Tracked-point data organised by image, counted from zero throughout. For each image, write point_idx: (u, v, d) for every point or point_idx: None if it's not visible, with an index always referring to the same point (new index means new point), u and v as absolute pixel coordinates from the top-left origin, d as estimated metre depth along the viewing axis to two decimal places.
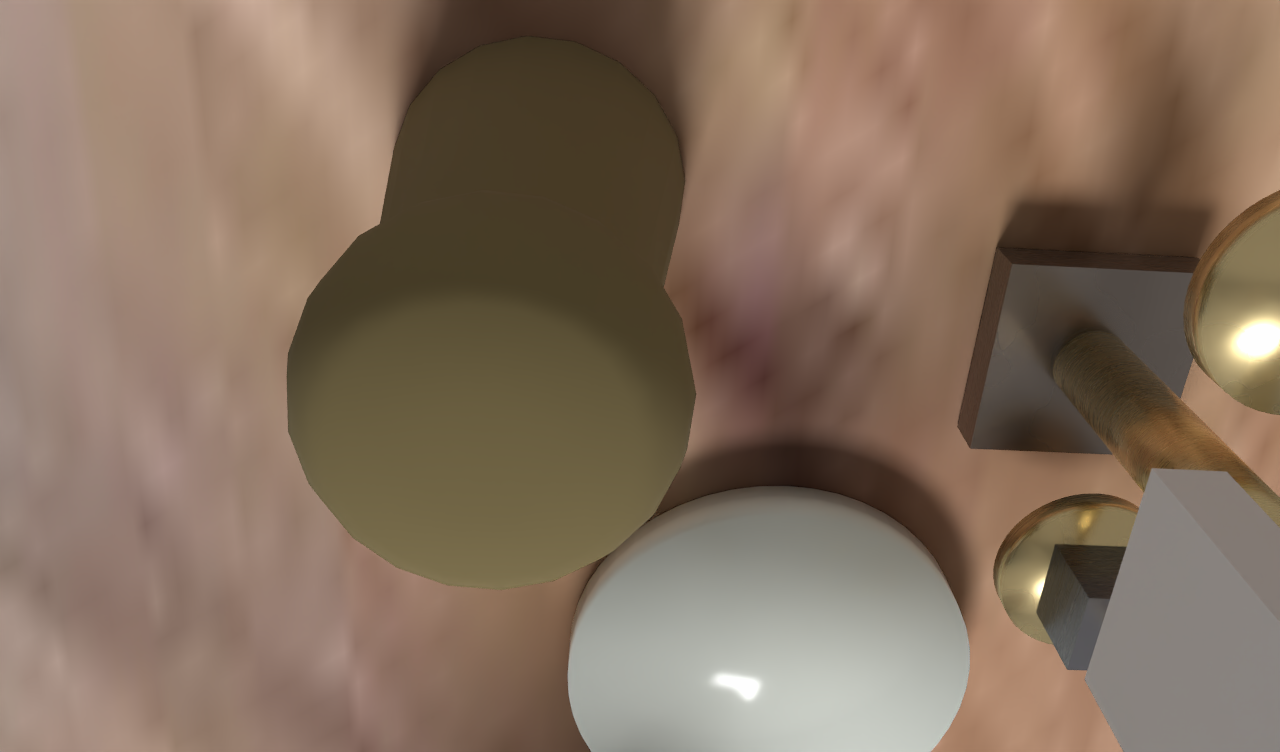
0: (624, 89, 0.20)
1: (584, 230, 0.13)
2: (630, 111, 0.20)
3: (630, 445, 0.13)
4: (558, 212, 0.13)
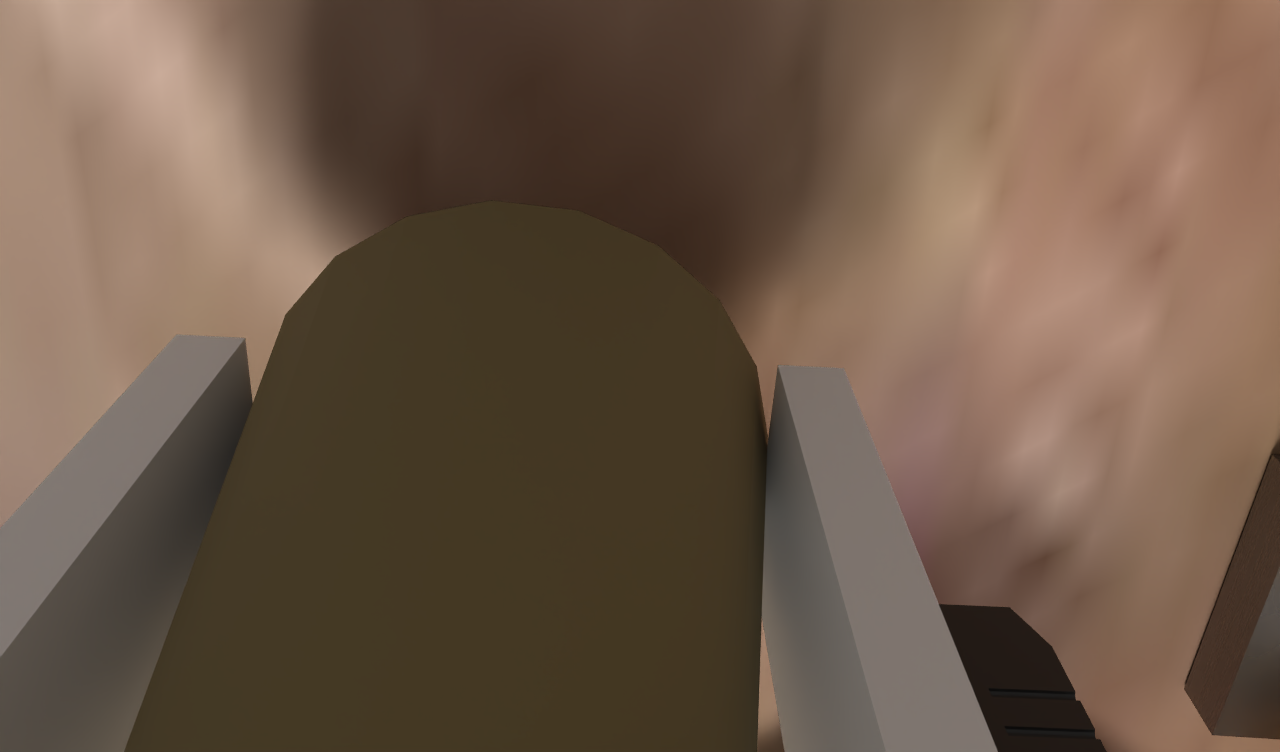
0: (667, 311, 0.11)
1: None
2: (681, 366, 0.10)
3: None
4: None
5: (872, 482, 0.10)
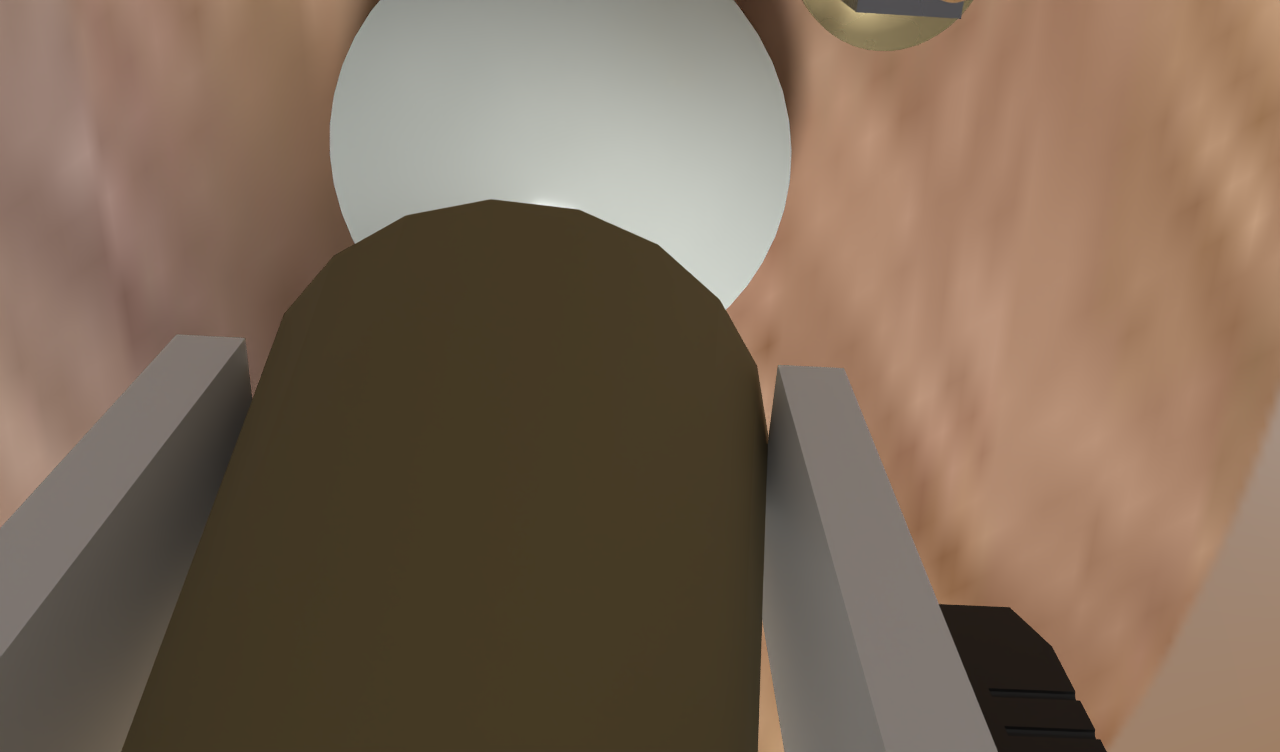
0: (667, 310, 0.11)
1: None
2: (681, 366, 0.10)
3: None
4: None
5: (872, 482, 0.10)
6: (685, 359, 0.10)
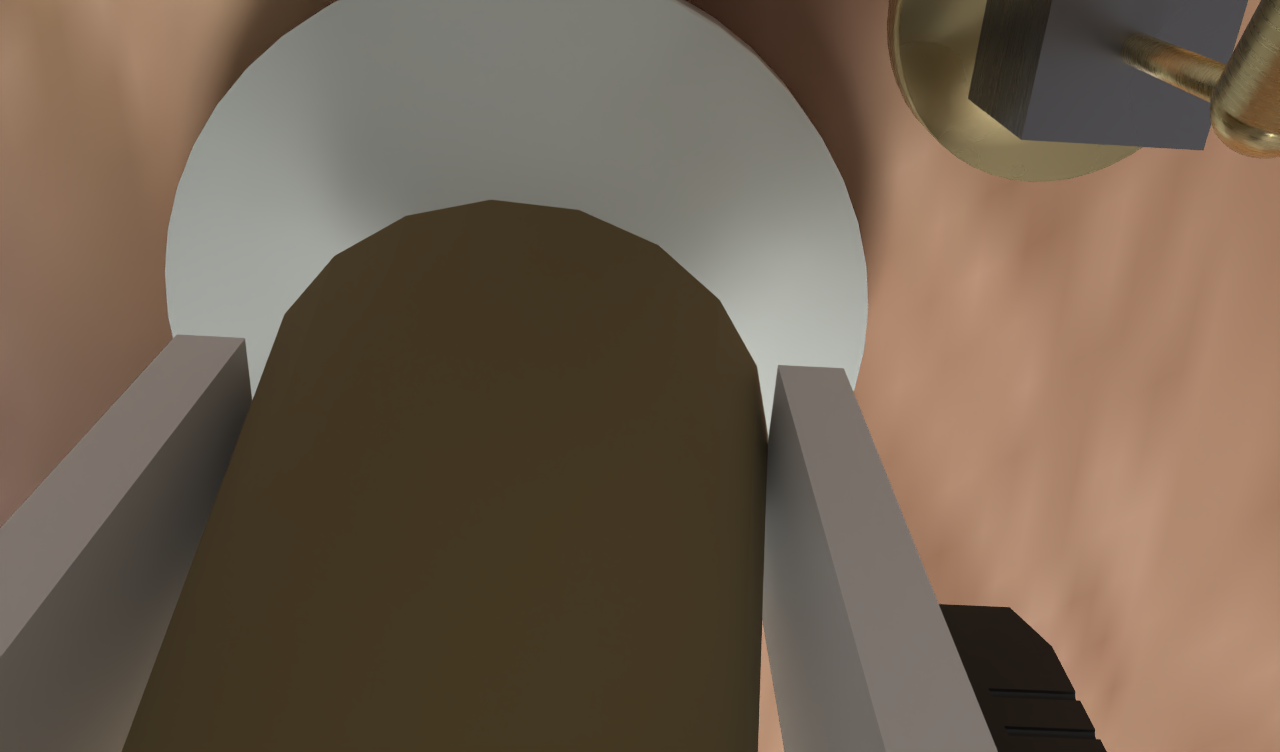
0: (667, 310, 0.11)
1: None
2: (681, 366, 0.10)
3: None
4: None
5: (872, 482, 0.10)
6: (685, 359, 0.10)
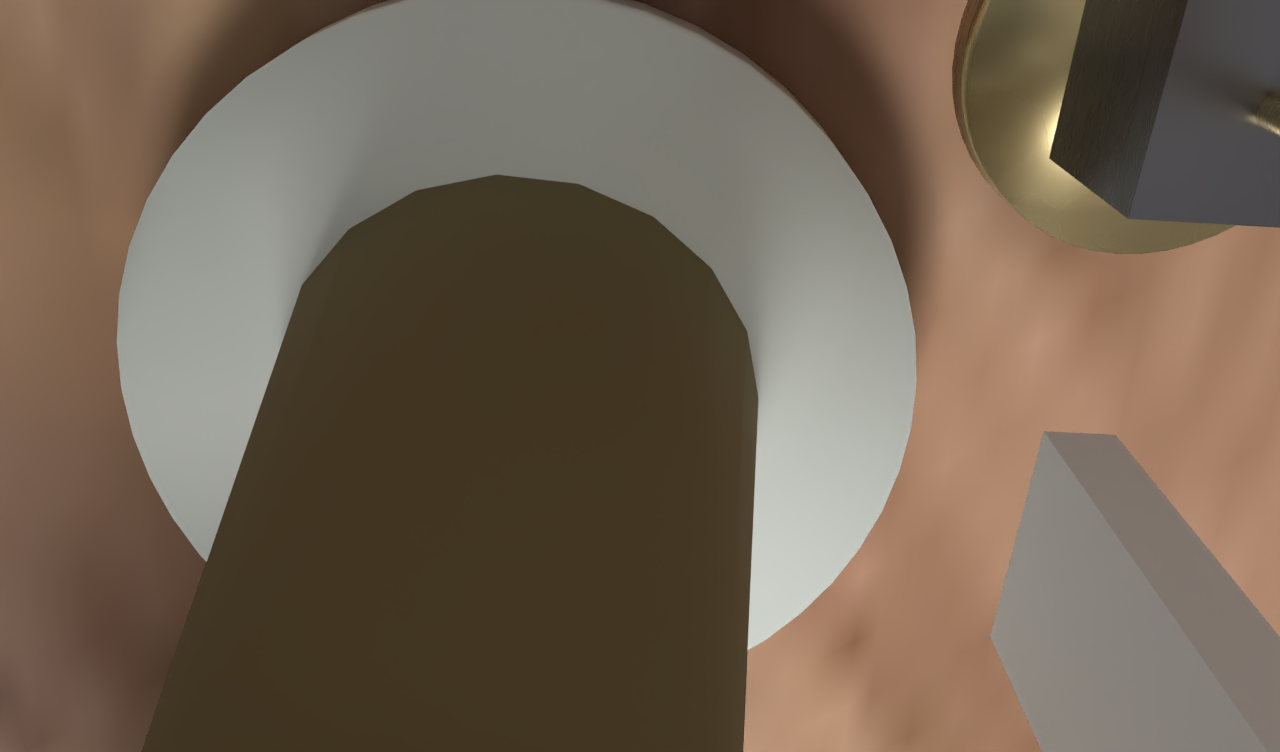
0: (662, 276, 0.12)
1: None
2: (675, 326, 0.11)
3: None
4: None
5: (1213, 578, 0.09)
6: (679, 320, 0.11)
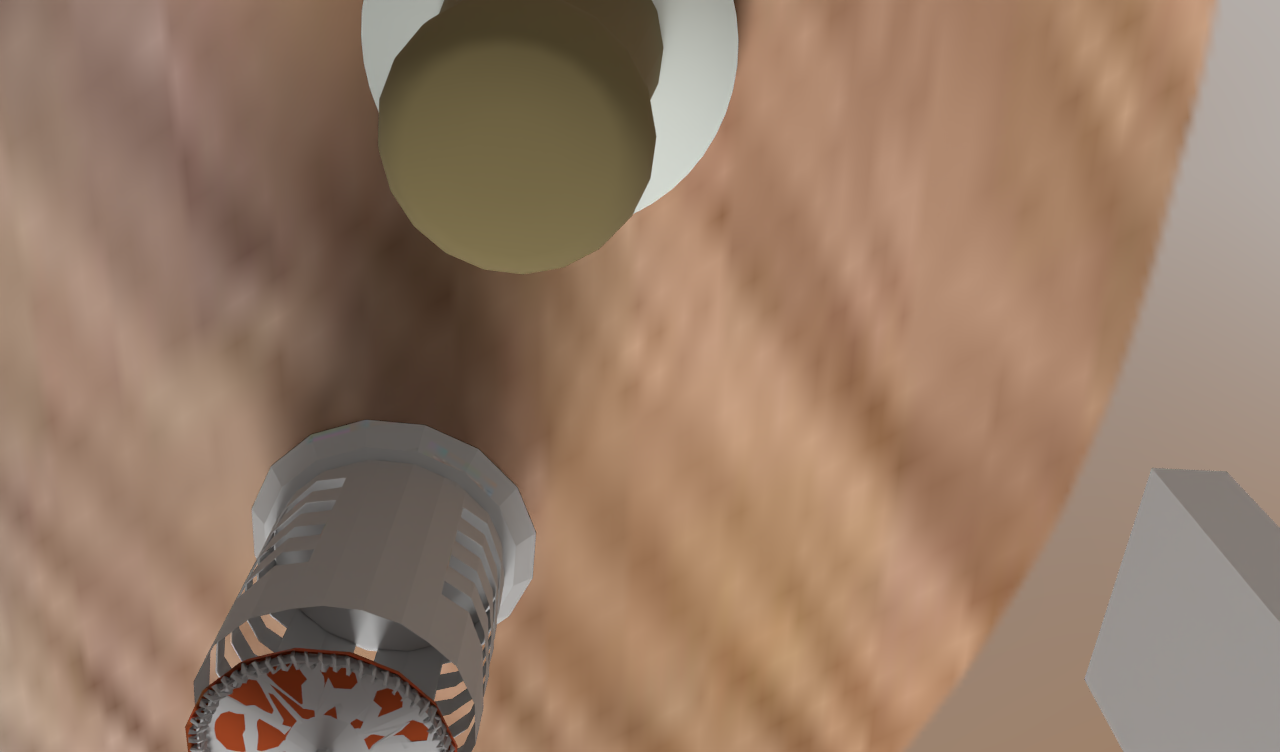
0: None
1: (581, 13, 0.19)
2: None
3: (609, 153, 0.19)
4: (564, 2, 0.19)
5: None
6: None
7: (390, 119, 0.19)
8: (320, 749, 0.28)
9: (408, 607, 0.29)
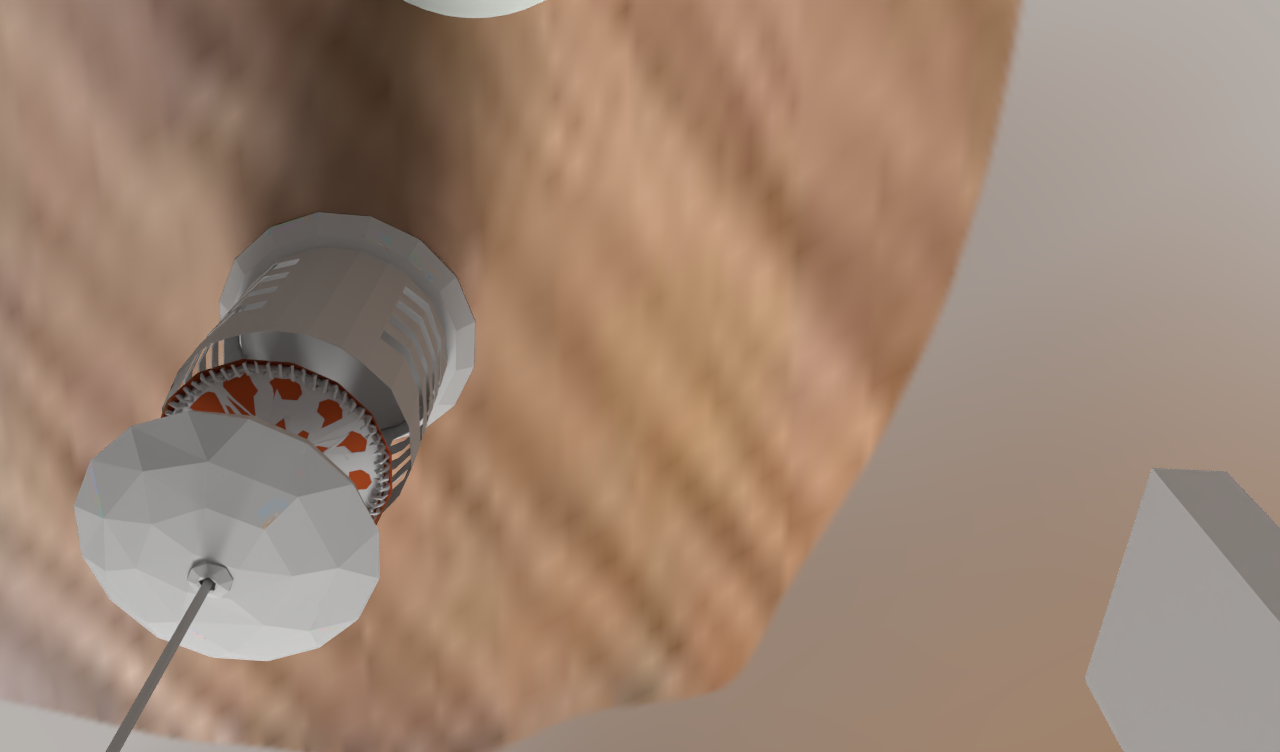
0: None
1: None
2: None
3: None
4: None
5: None
6: None
7: None
8: None
9: (348, 339, 0.33)
